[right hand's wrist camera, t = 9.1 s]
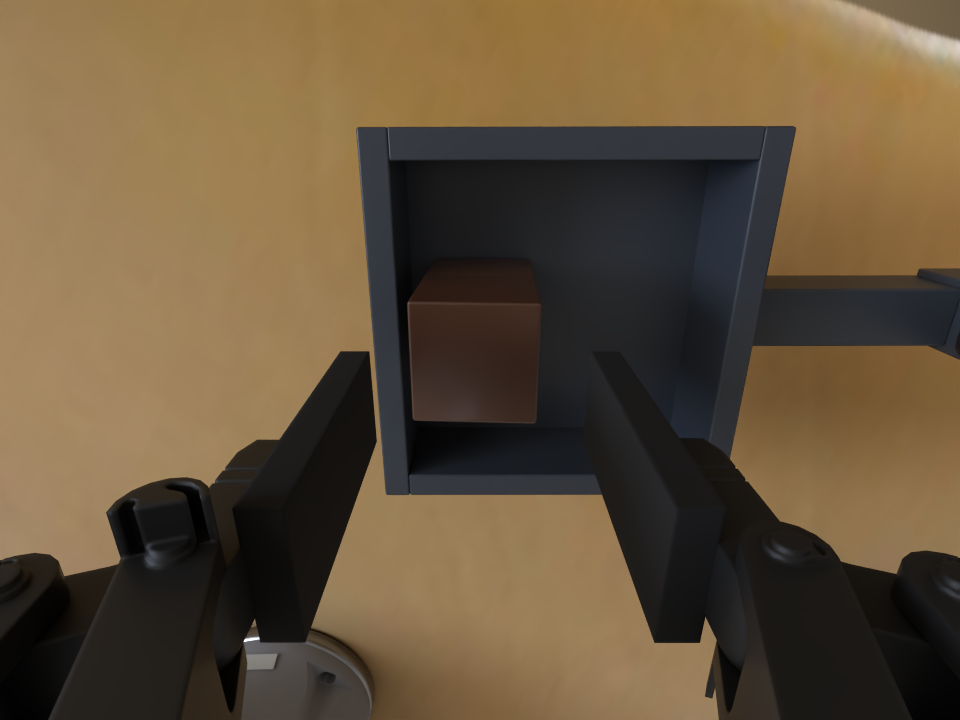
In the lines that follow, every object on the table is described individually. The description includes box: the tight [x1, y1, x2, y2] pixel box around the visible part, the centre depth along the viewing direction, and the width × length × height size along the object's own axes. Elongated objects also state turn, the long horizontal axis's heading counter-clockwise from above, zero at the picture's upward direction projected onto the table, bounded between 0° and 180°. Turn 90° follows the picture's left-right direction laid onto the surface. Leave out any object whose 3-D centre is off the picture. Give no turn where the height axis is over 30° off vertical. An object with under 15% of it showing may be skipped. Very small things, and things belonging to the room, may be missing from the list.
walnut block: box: [407, 258, 542, 423], centre depth 19 cm, size 4×4×7 cm
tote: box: [356, 126, 960, 495], centre depth 20 cm, size 26×14×8 cm, turn 90°
